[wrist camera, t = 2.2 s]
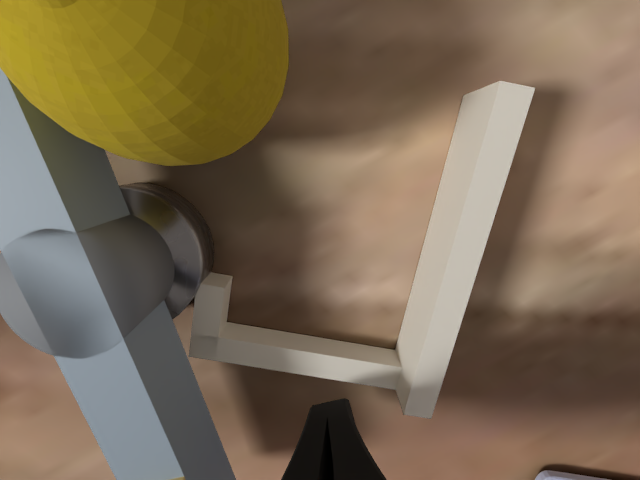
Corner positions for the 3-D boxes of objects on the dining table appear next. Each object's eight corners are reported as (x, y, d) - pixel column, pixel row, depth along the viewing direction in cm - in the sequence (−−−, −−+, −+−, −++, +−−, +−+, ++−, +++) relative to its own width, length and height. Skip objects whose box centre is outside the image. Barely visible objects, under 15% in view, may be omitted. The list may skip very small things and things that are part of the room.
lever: (32, -113, 9) (-110, -245, 6) (261, 489, 14) (244, 581, 11) (-95, -71, 9) (-292, -178, 6) (174, 507, 14) (135, 602, 11)
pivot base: (221, 196, 13) (206, 203, 11) (206, 318, 14) (191, 340, 12) (83, 171, 13) (47, 174, 11) (81, 297, 14) (48, 317, 12)
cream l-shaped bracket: (491, 100, 12) (535, 87, 10) (412, 374, 15) (431, 419, 12) (232, 48, 12) (208, 20, 9) (199, 339, 14) (175, 378, 12)
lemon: (327, 42, 12) (343, -184, 4) (253, 188, 13) (151, 247, 5) (173, -53, 11) (-195, -566, 3) (111, 111, 12) (-267, 39, 4)
